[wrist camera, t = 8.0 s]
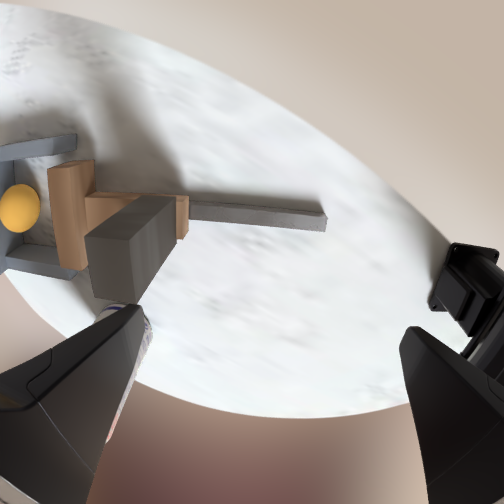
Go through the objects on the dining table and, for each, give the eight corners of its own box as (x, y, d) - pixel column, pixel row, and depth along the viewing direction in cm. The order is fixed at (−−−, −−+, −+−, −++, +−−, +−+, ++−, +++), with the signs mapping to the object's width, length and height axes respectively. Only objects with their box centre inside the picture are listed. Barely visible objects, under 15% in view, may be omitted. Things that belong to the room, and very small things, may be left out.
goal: (76, 133, 18) (23, 144, 12) (87, 263, 22) (49, 301, 17) (5, 144, 18) (-43, 158, 12) (19, 253, 22) (-19, 282, 17)
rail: (324, 213, 20) (327, 217, 19) (322, 226, 20) (325, 232, 19) (172, 199, 20) (167, 203, 19) (172, 213, 20) (168, 217, 19)
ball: (30, 177, 20) (43, 181, 18) (35, 219, 22) (48, 229, 20) (-7, 188, 17) (-1, 194, 15) (0, 232, 18) (8, 244, 17)
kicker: (190, 160, 17) (135, 190, 10) (188, 261, 20) (150, 340, 13) (72, 160, 17) (-10, 191, 10) (81, 250, 20) (18, 307, 13)
